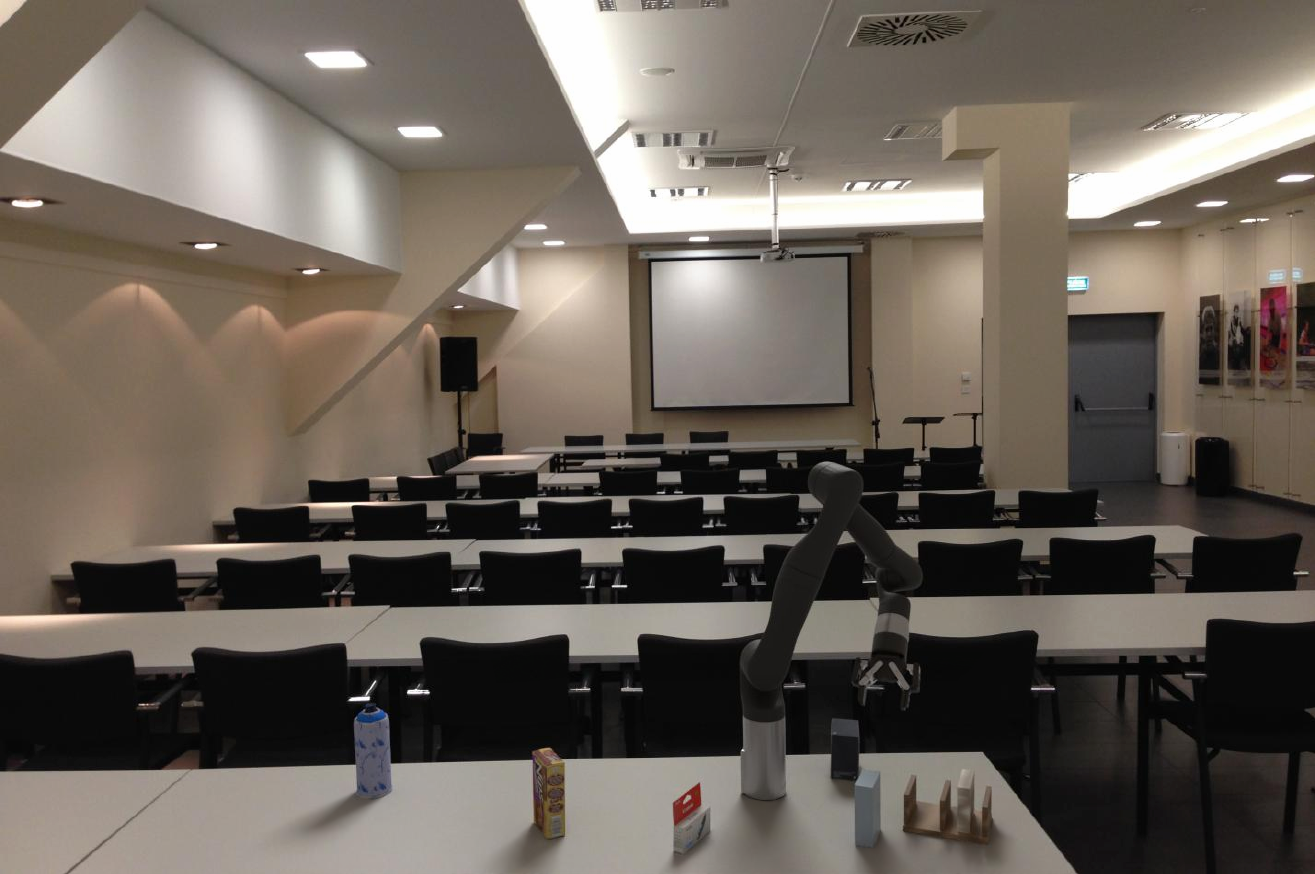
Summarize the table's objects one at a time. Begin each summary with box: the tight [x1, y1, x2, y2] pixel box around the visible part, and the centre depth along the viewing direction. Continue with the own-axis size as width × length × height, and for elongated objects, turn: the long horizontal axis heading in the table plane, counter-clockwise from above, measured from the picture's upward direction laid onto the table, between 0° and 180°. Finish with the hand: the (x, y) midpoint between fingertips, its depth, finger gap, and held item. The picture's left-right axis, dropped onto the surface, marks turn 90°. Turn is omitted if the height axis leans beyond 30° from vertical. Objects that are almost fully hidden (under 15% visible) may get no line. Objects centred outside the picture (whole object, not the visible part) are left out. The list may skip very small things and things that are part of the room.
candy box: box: [532, 747, 566, 840], centre depth 195 cm, size 9×4×15 cm, turn 26°
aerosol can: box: [353, 702, 393, 800], centre depth 214 cm, size 8×8×20 cm
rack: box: [902, 768, 993, 846], centre depth 193 cm, size 16×12×10 cm
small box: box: [830, 717, 860, 781], centre depth 220 cm, size 11×6×10 cm, turn 168°
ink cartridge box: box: [672, 781, 711, 854], centre depth 189 cm, size 2×11×10 cm, turn 148°
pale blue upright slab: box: [854, 768, 882, 848], centre depth 189 cm, size 4×8×12 cm, turn 156°
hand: (882, 706), depth 202 cm, fingers open, 8 cm apart
